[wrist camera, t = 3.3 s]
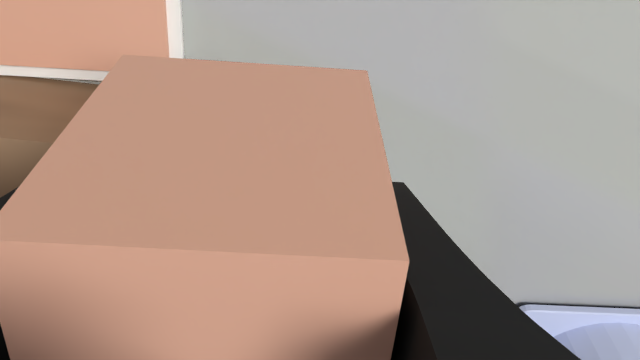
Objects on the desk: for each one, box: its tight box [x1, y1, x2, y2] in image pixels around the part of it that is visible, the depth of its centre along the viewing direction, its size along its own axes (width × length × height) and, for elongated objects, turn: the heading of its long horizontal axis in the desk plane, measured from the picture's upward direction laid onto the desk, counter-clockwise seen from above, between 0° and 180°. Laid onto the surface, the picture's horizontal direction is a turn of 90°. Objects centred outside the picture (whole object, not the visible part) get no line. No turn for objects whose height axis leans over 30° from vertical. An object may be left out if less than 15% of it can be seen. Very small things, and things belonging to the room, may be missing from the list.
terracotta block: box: [0, 55, 409, 360], centre depth 9 cm, size 4×4×5 cm
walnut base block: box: [0, 75, 99, 198], centre depth 18 cm, size 6×6×4 cm
